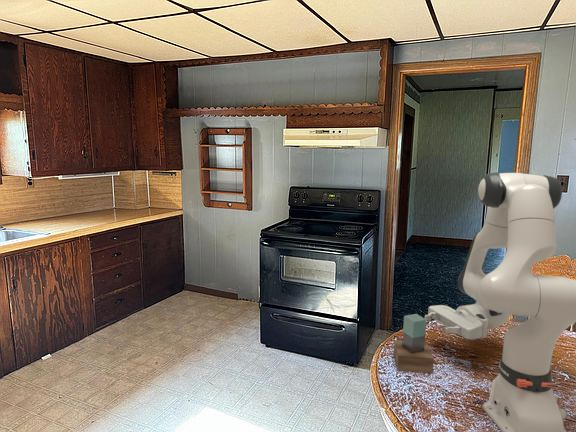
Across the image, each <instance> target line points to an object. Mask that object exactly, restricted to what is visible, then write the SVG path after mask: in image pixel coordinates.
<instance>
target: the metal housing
mask: <svg viewBox="0 0 576 432" xmlns="http://www.w3.org/2000/svg"><path fill="white" fill-rule="evenodd" d="M424 318H425V317H423V316H422V315H419V314H418V313H414V314H406V315H403V325H402V326H403V328H402V340H403V342H402V347H403V348H405V349H406V350H407V351H409V352H410V353H411V354H413V353H418V352H423V351H424V347H425V342H426V330H427V321H426V319H424Z"/></svg>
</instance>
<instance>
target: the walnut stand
mask: <svg viewBox="0 0 576 432" xmlns="http://www.w3.org/2000/svg"><path fill="white" fill-rule="evenodd" d="M402 342H403V339H401V340H399V339H394V340H393V356H394V361H395V365H396V366H395V367H396V371H401V372H402V371H403V372H415V373H429V374H434V363H435V358H434V355H433V353H432V350H431V348H430V346H429V344H428V341H425V347H424V351H423V352H418V353H413V354H411V353H410V352H409V351H407V350H406V349H405V348H403V347H402Z"/></svg>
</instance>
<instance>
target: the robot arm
mask: <svg viewBox="0 0 576 432" xmlns="http://www.w3.org/2000/svg"><path fill="white" fill-rule="evenodd" d="M477 192H478V198H479V201H480V203H482V205H484V206H486V207H487V209H486V215H485V221H484V223H483V227H482V228H481V229H479V230H478V231H477V232H476V233H475V235H474V236H473V239H472V241H471V244H470V246H469V249H468V252H467V256H466V259H465V262H464V265H463V268H462V269H461V272H460V274H459V275H458V279H457V287H458V289H459V291H460V292H461V293H463V294H464V295H466V296H468V297H471V298H472V299H473V300H474V301H475V303H473V304H466V305H460V306H458V307H457V308H456V309H454V308H452V307H450V306H448V305H445V304H444V305H443V304H438V305H430V306H429V307H428V308H427V309H428V312H427V314H425V315H424V317H423V318H424V319H426V322H432V320H435V321H436V322H438V323H440V324H441V325H443V327H442V329H443V330H442V332H444V333H445V334H454V335H459V336H461V337H463V338H464V339H467V340H469V341H470V340H477V339H478V340H479V339H485V338H487V334H488V329H491V328H492V329H493V328H497V327H499V326H502V325H504V324H506V323H507V322H508V321H509V320H510V318H511V316H519V317H527V318H528V319H527V320H525V321H523V322H521V323H519V324H516V325H514V326H512V327H510V328H508V330H507V331H506V332H505V334H504V338H503V346H502V347H503V348H502V356H501V357H500V359H499V363H498V374H497V376H496V377H495V378H494V379H493V380H492V382H491V386H490V387H491V388H490V393H489V398H488V401H486V402H484V403H483V404H482V405H483V406H482V409H483V411H485V413H486V414H487V415H488V416H489V417H490V419H491V420H492V421H493V422H494V423H495V425H496V426H497V427H498V429H500V430H501V432H567V430H566V428H565V425H564V420H565V419H566V418H567V412H566V410H565V409H564V408H560V407H559V404H558V400H559V398H558V396H557V395H555V393H554V391H553V375H552V370H551V369H552V368H551V363H552V358H553V357H552V356H553V352H554V348H555V345H556V343H557V341H558V339H560V338H559V337H560V336H561V335H562V334H563V332H565V331H566V329H568V328H569V327H570V326H572V325H573V324H575V323H576V279H573V278H568V277H565V276H557V275H556V276H555V275H544V274H534V273H532V268H533V266H534V265H535V264H538V263H541V262H543V261H546V260H548V259H549V258H551V257H553V255H554V254H555V252H556V251H557V250H556V249H557V241H556V239H557V235H556V221H555V220H556V219H555V211H554V209H555V208H557V207H558V206H559V204H560V202H561V201H562V196H563V188H562V184H561V182H560V181H559V179H558V178H557V177H553V176H550V175H537V174H530V173H522V172H501V173H500V172H491V173H486V174H484V176H483V177H482V178H481V180H480V183H479V185H478V189H477ZM490 249H494V250H495V249H496V250H497V249H506V250H505V251H506V252H505V255H504V257H503V258H502V260H501V262H500V263H499V265H498V266H497V267H495V269H493V270H492V271H490V272H489V273H487V274H486V273H484V271H483V269H482V267H483V265H484V263H485V259H486V256H487V253H488V251H489V250H490Z"/></svg>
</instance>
